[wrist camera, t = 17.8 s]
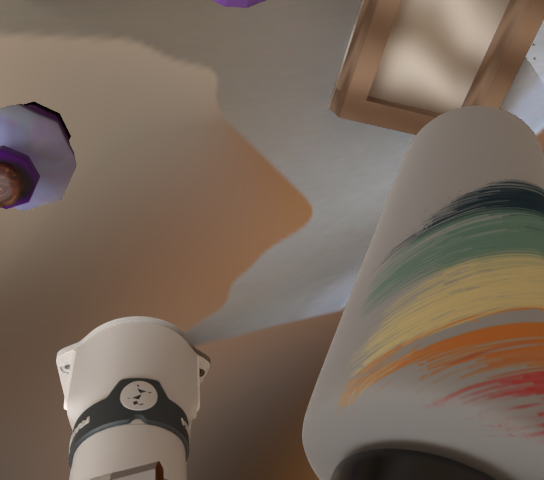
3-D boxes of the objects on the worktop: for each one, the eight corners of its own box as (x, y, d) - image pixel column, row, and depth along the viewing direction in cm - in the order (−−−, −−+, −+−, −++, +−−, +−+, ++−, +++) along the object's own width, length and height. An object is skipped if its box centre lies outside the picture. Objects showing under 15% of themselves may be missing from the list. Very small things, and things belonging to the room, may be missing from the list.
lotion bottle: (451, 238, 23) (353, 870, 8) (380, 151, 22) (112, 696, 7) (572, 180, 19) (814, 1144, 4) (494, 73, 18) (455, 868, 3)
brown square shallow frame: (460, 138, 50) (479, 149, 47) (327, 107, 45) (339, 117, 42) (537, -26, 43) (565, -25, 40) (388, -83, 38) (407, -87, 35)
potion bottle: (42, 194, 44) (7, 264, 34) (-41, 126, 40) (-110, 183, 30) (108, 139, 43) (92, 195, 33) (30, 62, 38) (-17, 99, 28)
